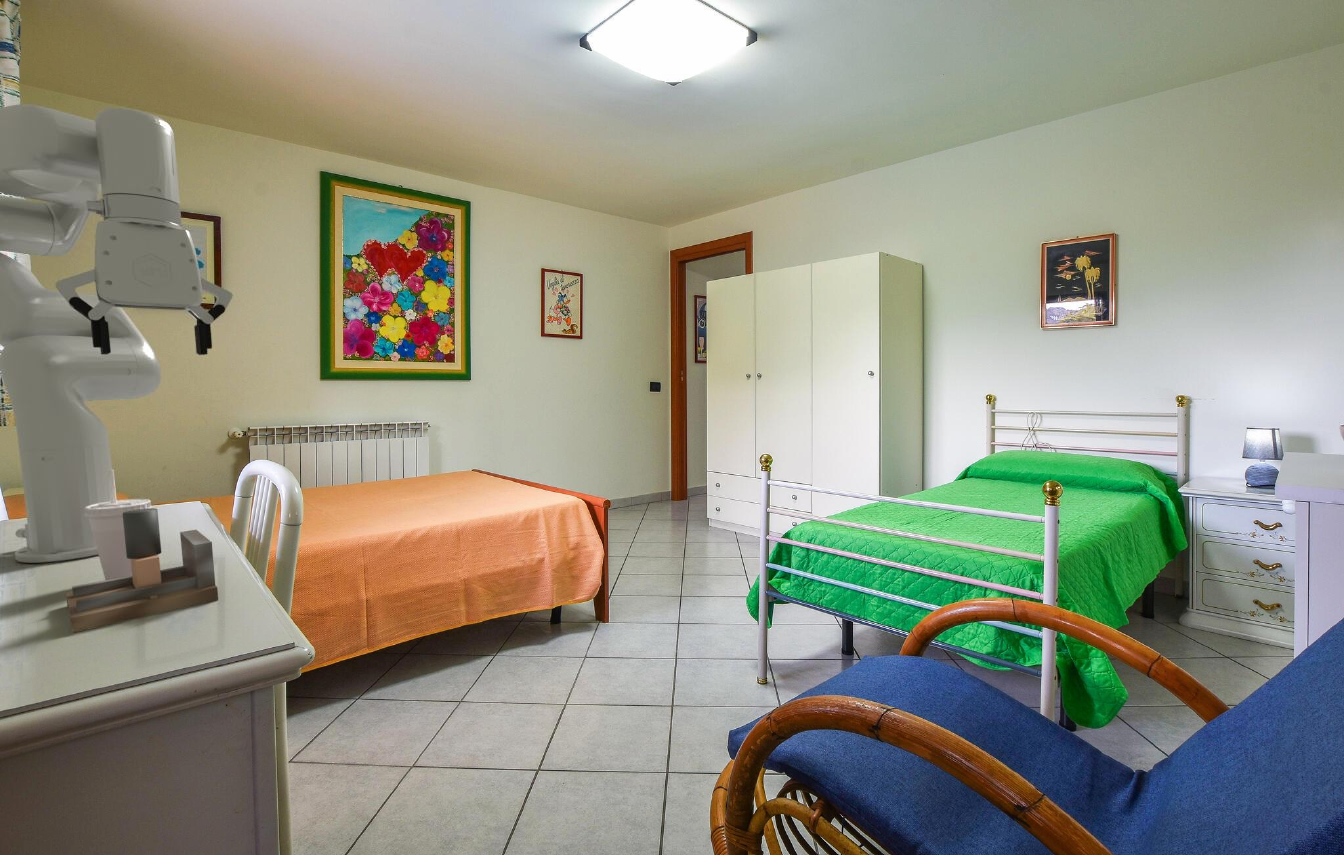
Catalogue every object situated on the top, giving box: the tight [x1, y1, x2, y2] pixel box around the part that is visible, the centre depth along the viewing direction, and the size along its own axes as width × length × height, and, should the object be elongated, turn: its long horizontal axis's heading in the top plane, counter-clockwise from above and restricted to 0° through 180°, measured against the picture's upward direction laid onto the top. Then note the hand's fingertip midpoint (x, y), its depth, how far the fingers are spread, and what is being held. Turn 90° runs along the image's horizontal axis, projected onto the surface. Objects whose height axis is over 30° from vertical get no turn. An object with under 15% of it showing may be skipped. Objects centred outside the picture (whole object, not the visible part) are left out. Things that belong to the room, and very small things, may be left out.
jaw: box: [122, 507, 162, 588], centre depth 71 cm, size 3×5×9 cm, turn 46°
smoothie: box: [84, 468, 153, 581], centre depth 79 cm, size 6×6×14 cm
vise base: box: [65, 529, 219, 633], centre depth 71 cm, size 12×11×6 cm
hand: (156, 354), depth 81 cm, fingers open, 9 cm apart
